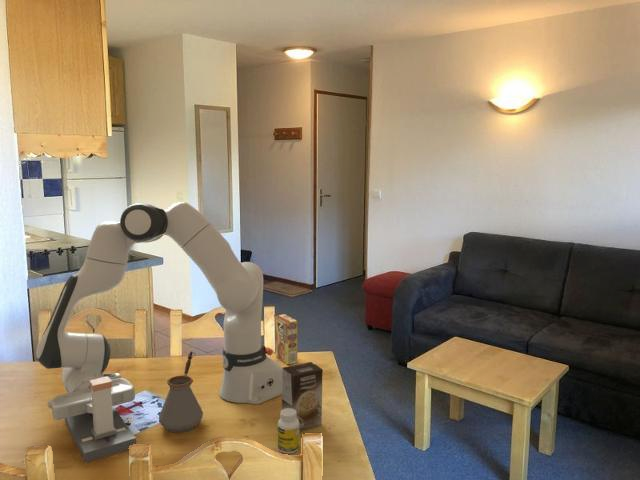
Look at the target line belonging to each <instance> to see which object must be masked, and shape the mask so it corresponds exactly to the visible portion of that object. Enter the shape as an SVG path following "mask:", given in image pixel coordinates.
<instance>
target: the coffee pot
mask: <svg viewBox="0 0 640 480" xmlns="http://www.w3.org/2000/svg"><path fill="white" fill-rule="evenodd" d="M193 354H195V355H193ZM196 355H197V354H196V353H195V352H193V351H192V350H191V351H190V352H188V353H187V361H186V362H185V368H184V373H183V375H182V374H181V375H175V376H172V377H170V378H168V379H167V382H166V383H167V385H168V386H169V391H168V393H167V395H166V397H165V400H164V402H163V405H162V408H161V409H160V410H161V411H160V413H159V415H158V421H159V423H160V425H161V426H162V427H164V428H165V429H167V430H168V431H169V432H171V433H178V434H179V433H186V432H188V431H192V430H194V428H195V427H196V426H197V425H198V424H199V423H200V422H201V420H202V419H203V416H204V412H203V410H202V408H201V406H200V404H199V401H198V400H197V398H196V395H195V394H194V392H193V390H192V388H191V386H192V384H193V382H194V380H193V378H192V377H191V376H189V375H188V373H189V370H190V367H191V362H192V361H191V360H192V359H193V358H194V357H196Z"/></svg>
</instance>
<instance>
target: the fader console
mask: <svg viewBox="0 0 640 480" xmlns="http://www.w3.org/2000/svg"><path fill="white" fill-rule="evenodd" d="M112 411H113V426H114V427H115V429H116V433H117V434H114V435H111V436H107V437H104V438H101V439H97V440H95V438H94V436H93V435H92V432H91V429H94V424H93V414H92V413H84V414H81V415H77V416H73V417H69V418H65V419H64V423H65V426H66V427H67V429H68V432H69V434H70V435H71V438H72V440H73V441H74V443H75V445H76V447H77V450H78V452H79V453H80V456H81V458H82V459H83V463H85V464H88V463H90V462H94V461H96V460H100V459H103V458H106V457H109V456H113V455H116V454H119V453H123V452H126V451H128V448H129V446H130V445H133V444H136V445H137V438H136V436H135V434H134V433H133V432H132V430H131V429H130V428H129V426H128V425H127V423H126V422H125V421H124V419H123V418H122V417H121V415H120V413H119V412H118V411H117V409H116V408H115V407H114V406H112Z"/></svg>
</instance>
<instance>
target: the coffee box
mask: <svg viewBox="0 0 640 480" xmlns="http://www.w3.org/2000/svg"><path fill="white" fill-rule="evenodd" d="M323 373H324V369H323V368H321V367H320V366H319V365H317V364H315V363H314V362H312V361H308V362H305V363H299V364H292V365H287V366H285V367H283V366H282V394H281V410H283V409H286V408H292V409H294V410H296V412H297V417H296V418H297V419H298V420H299V432H301V431H306V430H309V429H312V428H315V427H316V428H317V427H319V426H320V427H321V426H322V423H323V422H322V418H323V417H322V414H323V413H322V412H323V409H322V408H323V375H324V374H323Z"/></svg>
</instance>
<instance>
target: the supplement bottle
mask: <svg viewBox="0 0 640 480" xmlns="http://www.w3.org/2000/svg"><path fill="white" fill-rule="evenodd" d="M279 413H280V415H279V416H280V418H279V419H278V420H277V449H278V451H279V452H280V453H282V454H294V453H296V452H298V450H299V448H300V431H299V420H298V419H297V418H296V417H297V412H296V410H294V409H292V408H286V409H283V410H282V409H281V410H280V412H279Z"/></svg>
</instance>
